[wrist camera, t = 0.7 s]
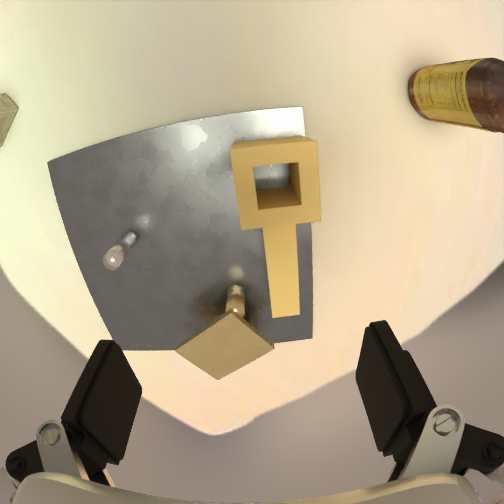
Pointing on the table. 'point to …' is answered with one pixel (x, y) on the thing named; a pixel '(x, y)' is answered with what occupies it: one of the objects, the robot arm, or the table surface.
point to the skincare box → (6, 115)
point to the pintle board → (181, 239)
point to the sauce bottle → (461, 93)
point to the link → (278, 208)
